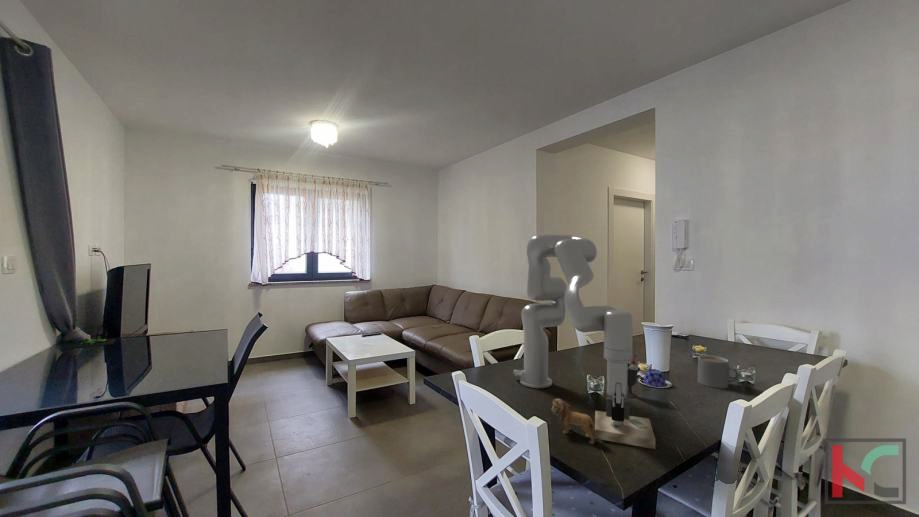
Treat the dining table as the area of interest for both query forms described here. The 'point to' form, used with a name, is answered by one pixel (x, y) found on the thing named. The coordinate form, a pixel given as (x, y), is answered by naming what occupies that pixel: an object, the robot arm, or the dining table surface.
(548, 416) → the dining table surface
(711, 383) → the coffee mug
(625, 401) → the latch
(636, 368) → the sundae
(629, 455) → the dining table surface
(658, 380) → the plate of grapes
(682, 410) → the dining table surface
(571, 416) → the lion figurine
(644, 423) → the dial board
